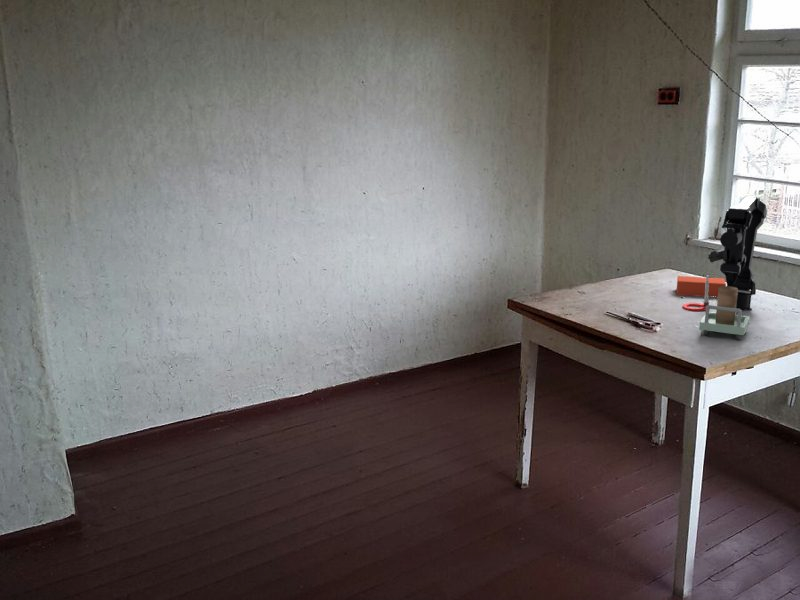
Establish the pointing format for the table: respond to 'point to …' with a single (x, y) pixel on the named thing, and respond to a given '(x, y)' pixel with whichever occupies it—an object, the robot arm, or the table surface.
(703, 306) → the tow hook
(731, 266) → the robot arm
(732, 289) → the brown cylinder
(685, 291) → the brick
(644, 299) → the table surface
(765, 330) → the table surface
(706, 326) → the parts cart
